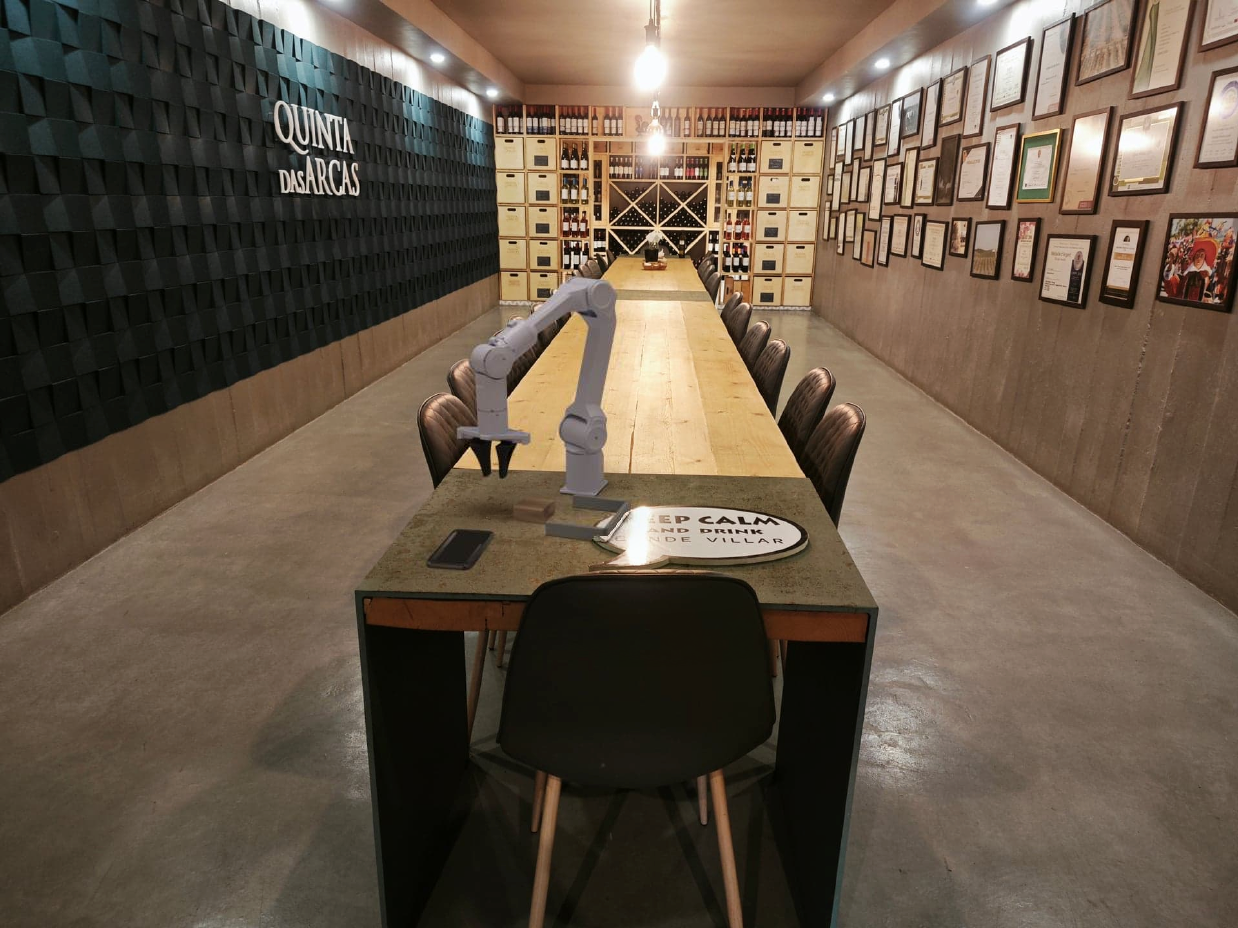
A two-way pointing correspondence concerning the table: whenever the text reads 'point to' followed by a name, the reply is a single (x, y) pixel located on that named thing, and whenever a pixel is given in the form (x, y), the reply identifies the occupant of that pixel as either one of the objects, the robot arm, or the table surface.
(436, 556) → the phone
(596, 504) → the grey u-shaped rail
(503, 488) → the table surface
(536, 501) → the walnut tile
